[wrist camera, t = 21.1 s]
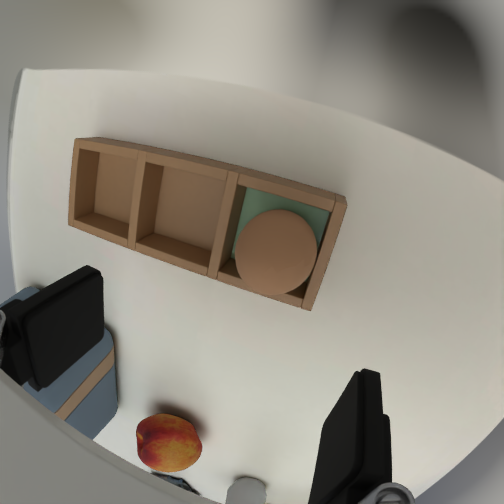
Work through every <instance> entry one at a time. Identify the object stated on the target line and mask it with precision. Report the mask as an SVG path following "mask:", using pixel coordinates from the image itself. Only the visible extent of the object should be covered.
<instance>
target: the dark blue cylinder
mask: <svg viewBox="0 0 504 504" xmlns="http://www.w3.org/2000/svg"><path fill="white" fill-rule="evenodd" d="M151 474H153V475H155V474H154V473H151ZM155 476H157V477H159V478H161V479H163V480H165V481H167V482H169V483H171V484H174V485H176V486H178V487H180V488H183V489H185V490H187V491H190V492H191V490H192V489H190V487H189V485H188V484H185V483H182V481H183V480H182V479H180V480H177V479H175V480H174V478H171V476H167V477H165V476H163V475H161V476H160V475H155ZM192 493H193V492H192ZM194 494H197V493H194ZM197 495H199V494H197ZM199 496H200V495H199Z"/></svg>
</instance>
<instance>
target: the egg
mask: <svg viewBox="0 0 504 504" xmlns="http://www.w3.org/2000/svg"><path fill="white" fill-rule="evenodd" d="M316 256H317V243H316V239H315V236H314V232H313V230H312V228H311V227H310V225H309V224H308V223H307V222H306V221H305V220H304V219H303V218H302V217H301V216H299V215H297V214H296V213H294V212H291V211H287V210H283V209H275V210H269V211H266V212H263V213H260V214H259V215H257V216H256V217H254V218H253V219H251V220H250V221H249V222H248V223H247V224H246V225H245V227H244V228H243V230H242V231H241V233H240V235H239V237H238V240H237V242H236V247H235V261H236V267H237V270H238V273H239V275H240V277H241V278H242V280H243V281H244V282H245V283H246V284H247V286H249V287H250V288H251V289H252V290H254V291H256V292H259V293H262V294H266V295H279V294H284V293H286V292H289V291H291V290H294V289H295V288H297V287H298V286H300V285H301V284H302V283H303V282H304V281H305V280H306V279H307V277H308V276H309V274H310V273H311V271H312V269H313V267H314V263H315V260H316Z"/></svg>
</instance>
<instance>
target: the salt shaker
mask: <svg viewBox="0 0 504 504" xmlns="http://www.w3.org/2000/svg"><path fill="white" fill-rule="evenodd" d="M266 496H267V495H266V490H265V485H264V484H263V483H261V482H260V481H259V480H258V479H253V478H248V477H244V478H241V479H238V480H237V481H236V482H235V483H234V484H232V485H231V486H230V487H229V489H228V491H227V498H226V504H264V503H265V502H266Z"/></svg>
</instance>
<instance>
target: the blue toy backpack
mask: <svg viewBox="0 0 504 504" xmlns="http://www.w3.org/2000/svg"><path fill="white" fill-rule="evenodd" d="M39 291H40V290H39V289H37V288H35V287H27V288H24V289H23V290H21V291H20V292H18V293H17V294H15V295H14V296H12V297H11V298H9V299H8V300H6V301H5V302H4V303H2V304H1V305H0V310H2V311H3V312H4V313H5V316H6V318H7V317H9V313H8V309H10V308H11V307H13V306H15V305H16V304H18V303H20V302H21V301H23V300H25V299H26V298H28V297H30V296H32V295H33V294H35V293H37V292H39ZM104 331H105V332H104V337H103V338H102V340H101V341H100V342H99V343H98V344H96V345H95V346H94V347H93V348H92V349H91V350H89V351H88V352H87V353H86V354H85V355H84V356H83V357H81V358H80V359H79V360H78V361H77V362H76V363H74V364H73V365H72V366H71V367H70V368H69V369H68V370H66V371H65V372H64V373H63V374H62V375H61V376H60V377H59V378H57V379H56V380H55V381H54V382H53V383H52V384H51V385H49V386H48V387H47V388H42V389H41V390H40V391H39V392H37V391H36V390H34V389H33V388H32V387H31V386H30V385H29V384H28V381H27V382H26V383H24V390H25V391H26V392H28V393H29V394H30V395H31V396H32V397H34V398H35V399H36V400H37V401H39V402H40V403H41V404H42V405H44V406H45V407H46V408H47V409H49V410H50V411H51V412H53V413H54V414H55V415H57V416H58V417H59V418H61V419H62V420H63V421H65V422H66V423H68V424H69V425H70V426H72V427H73V428H75V429H76V430H78V431H79V432H81V433H82V434H84V435H85V436H87V437H88V438H90V439H91V440H93V439H94V438H95V437H96V436H97V435H98V433H99V432H100V431H101V430H102V429H103V428H104V427H105V426H106V425H107V424H108V423H109V422H110V421H111V419H112V418H113V417H114V416H115V414H116V412H117V409H118V404H117V393H116V379H115V362H114V344H113V340H112V336H111V334H110V332H109V331H108V330H107V329H105V328H104Z"/></svg>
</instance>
